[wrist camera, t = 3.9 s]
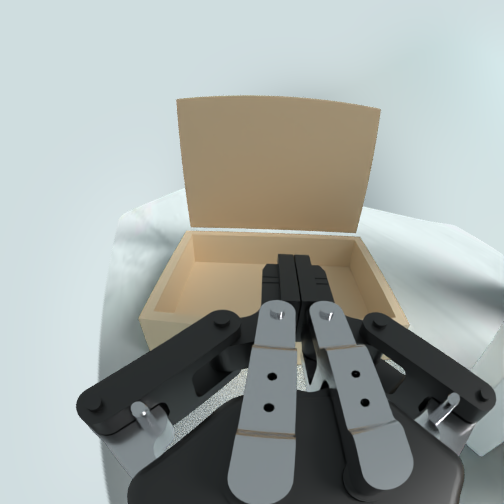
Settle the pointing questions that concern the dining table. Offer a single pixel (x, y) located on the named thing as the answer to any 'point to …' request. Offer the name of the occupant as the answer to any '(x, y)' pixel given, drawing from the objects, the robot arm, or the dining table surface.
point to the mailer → (258, 279)
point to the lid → (276, 161)
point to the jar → (500, 379)
